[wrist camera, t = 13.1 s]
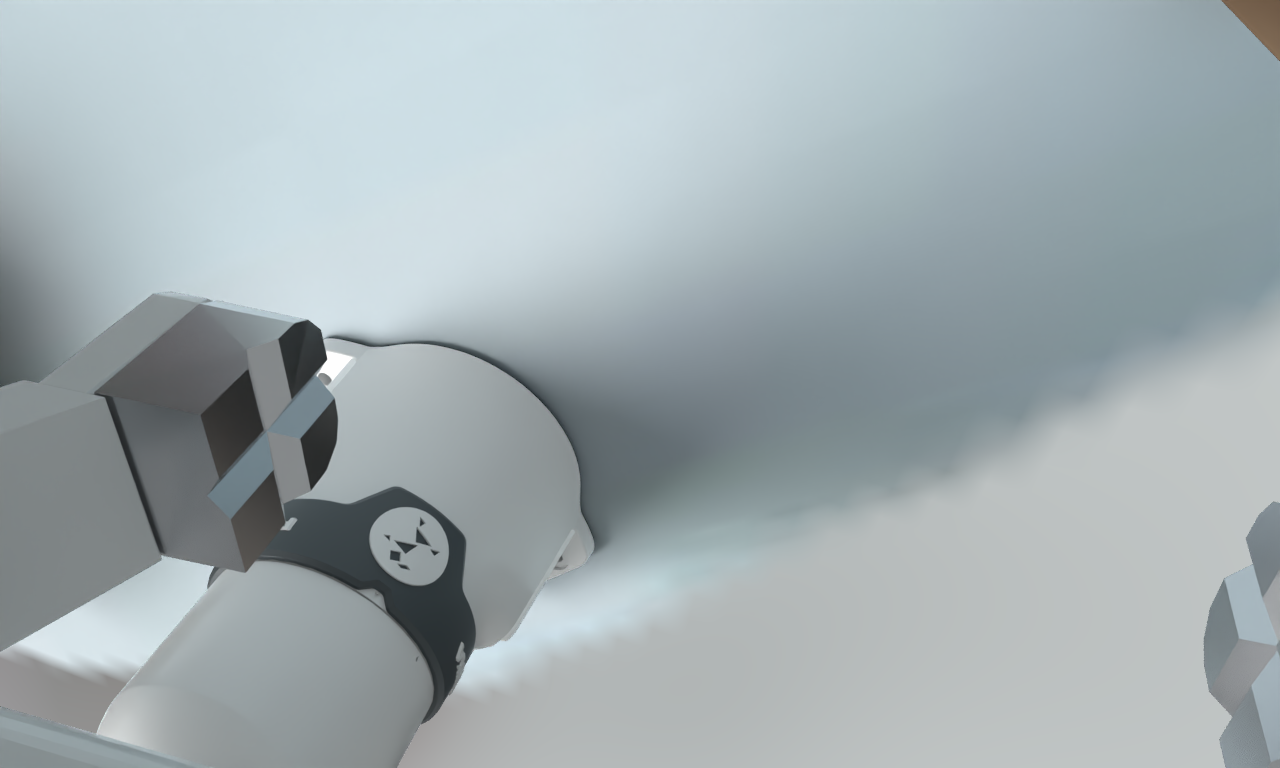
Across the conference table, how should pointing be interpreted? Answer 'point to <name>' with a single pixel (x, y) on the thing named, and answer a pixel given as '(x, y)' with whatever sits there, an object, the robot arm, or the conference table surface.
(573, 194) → the conference table surface
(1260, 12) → the block
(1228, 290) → the conference table surface
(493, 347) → the conference table surface
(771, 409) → the conference table surface
